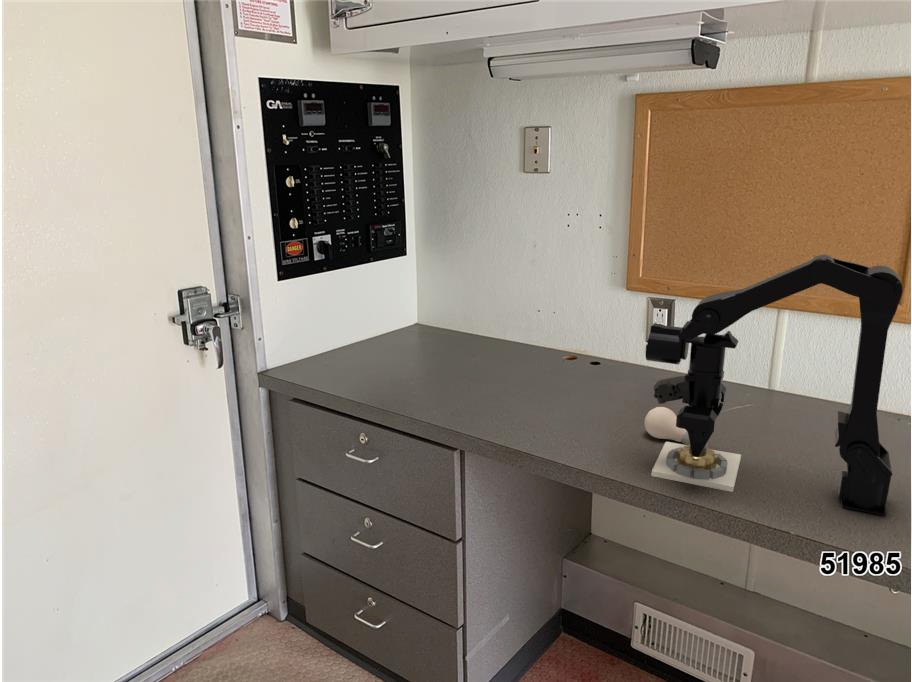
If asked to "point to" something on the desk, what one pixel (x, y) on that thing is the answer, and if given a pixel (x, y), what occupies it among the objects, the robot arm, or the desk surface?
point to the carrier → (713, 478)
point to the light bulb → (665, 425)
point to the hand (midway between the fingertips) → (698, 448)
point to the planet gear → (697, 458)
